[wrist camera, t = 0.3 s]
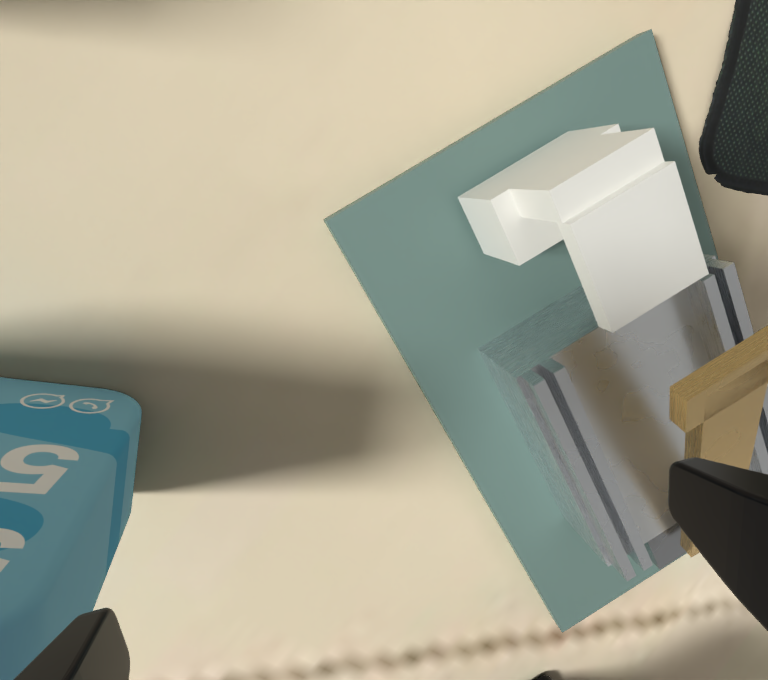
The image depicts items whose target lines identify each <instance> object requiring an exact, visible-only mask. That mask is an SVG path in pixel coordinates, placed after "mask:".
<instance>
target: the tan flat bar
mask: <svg viewBox="0 0 768 680" xmlns="http://www.w3.org/2000/svg"><path fill="white" fill-rule="evenodd" d="M767 385H768V326H766V327H764V328H763V329H761V330H760V331H758V332H756V333H755V334H753V335H752V336H750V337H748V338H747V339H745V340H744V341H742V342H740V343H739V344H737V345H736V346H734V347H732V348H731V349H729V350H728V351H726V352H724V353H723V354H721V355H720V356H718V357H716V358H715V359H713V360H712V361H710V362H708V363H707V364H705V365H704V366H702V367H700V368H699V369H697V370H696V371H694V372H692V373H691V374H689V375H687V376H686V377H684V378H683V379H681V380H679V381H678V382H676V383H675V384H673V385H671V386H670V402H669V419H670V420H671V421H672V422H673V423H674V424H676V425H677V426H678V427H679V428H680V429H681V430H682V431H684V432H685V453H684V459H688V458H692V457H697V458H702V459H706V460H710V461H714V462H718V463H723V464H727V465H731V466H735V467H739V468H743V469H747V470H749V467H750V462H751V458H752V453H753V448H754V444H755V439H756V435H757V430H758V426H759V421H760V417H761V412H762V407H763V403H764V398H765V394H766V389H767ZM680 545H681V547H682V548H683V549H684V550H685V551H686V552H687V553H688V554H689V555H690V556H691V557H693V556H694V555H696V554H698V553H699V550H698V549H697V548H696V547H695V545H694V544H693V543H692V542H691V540H690V539H689V538H688V536H687V535H686V534H685V533H684V531H683V530H682V529H681V537H680Z"/></svg>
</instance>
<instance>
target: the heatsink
mask: <svg viewBox="0 0 768 680" xmlns="http://www.w3.org/2000/svg"><path fill="white" fill-rule="evenodd" d="M703 256H704V259H705V262H706V266H707V269H708V272H709V274H708V275H706V276H704V277H703V278H701V279H699V280H698V281H696V282H695V283H693V284H691V285H690V286H688V287H686V288H685V289H683V290H682V291H680V292H678V293H677V294H675V295H673V296H672V297H670V298H669V299H667V300H665V301H664V302H662V303H660V304H659V305H657V306H656V307H654V308H652V309H651V310H649V311H647V312H646V313H644V314H643V315H641V316H639V317H638V318H636V319H634V320H633V321H631V322H630V323H628V324H626V325H625V326H623V327H621V328H620V329H618V330H617V331H615V332H613V333H612V332H610V331H607V330H605V329H603V328H601V327H599V326H598V324H597V321H596V319H595V316H594V314H593V311H592V309H591V306H590V304H589V301H588V299H587V296H586V294H585V291H584V289H583V286H582V285H581V286H579V287H578V288H576V289H575V290H573V291H571V292H570V293H568V294H566V295H565V296H563V297H561V298H560V299H558V300H557V301H555V302H553V303H552V304H550V305H548V306H547V307H545V308H543V309H542V310H540V311H538V312H537V313H535V314H534V315H532V316H530V317H529V318H527V319H525V320H524V321H522V322H520V323H519V324H517V325H516V326H514V327H512V328H511V329H509V330H507V331H506V332H504V333H502V334H501V335H499V336H497V337H496V338H494V339H493V340H491V341H489V342H488V343H486V344H484V345H483V346H481V347H479V348H478V350H479V352H480V354H481V356H482V358H483V360H484V362H485V364H486V366H487V368H488V370H489V372H490V374H491V376H492V378H493V380H494V382H495V384H496V386H497V388H498V390H499V392H500V393H501V395H502V397H503V399H504V401H505V403H506V405H507V407H508V409H509V411H510V413H511V415H512V417H513V419H514V421H515V423H516V425H517V427H518V429H519V431H520V433H521V435H522V437H523V439H524V441H525V442H526V444H527V446H528V448H529V450H530V452H531V454H532V456H533V458H534V460H535V462H536V464H537V466H538V468H539V470H540V472H541V474H542V476H543V478H544V480H545V482H546V484H547V486H548V488H549V490H550V491H551V493H552V495H553V497H554V499H555V501H556V503H557V505H558V507H559V509H560V511H561V513H562V515H563V517H564V518H565V519H566V520H567V521H568V523H569V524H570V525H571V526H572V527H573V528H574V529H575V530H576V532H577V533H578V534H579V535H580V536H581V537H582V538H583V539H584V540H585V542H586V543H587V544H588V545H589V546H590V547H591V548H592V549H593V551H594V552H595V553H596V554H597V555H598V556H599V557H600V558H601V560H602V561H603V562H604V563H605V564H606V565H607V566H608V567H609V566H610V565H613V567H614V568H615V569H616V570H617V571H618V572H619V573H620V574H621V575H622V576H623V578H624V579H625V580H626V581H629V580H630V579H632V578H634V577H635V576H636V574H635V572H634V569H633V567H632V565H631V563H630V561H629V559H628V557H627V555H629V556H630V557H631V558H632V559H633V560H634V561H635V562H636V563H637V564H638V565H639V566H640V567H641V568H642V569H643V570H644V571H645V570H646V569H648V568H649V567H651V566H652V565H653V563H654V564H655V565H656V566H657V567H658V568H659V569H662V568H663V567H665V566H666V565H668V564H669V563H671V562H673V561H674V560H676V559H677V558H679V557H680V556H682V555H684V554H685V553H687V552H686V551H685V550H684V549H683V548H682V547H681V545H680V537H681V528H680V526H679V525H678V524H677V523H676V521H675V520H674V519H673V517H672V515H671V513H670V511H669V507H668V483H669V468H670V466H671V464H673V463H674V462H676V461H680V460H684V453H685V432H684V431H682V430H681V429H680V428H679V427H678V426H677V425H676V424H674V423H673V422H672V421H671V420H670V419H669V402H670V386H671V385H673V384H675V383H676V382H678V381H679V380H681V379H683V378H684V377H686V376H687V375H689V374H691V373H692V372H694V371H696V370H697V369H699V368H700V367H702V366H704V365H705V364H707V363H708V362H710V361H712V360H713V359H715V358H716V357H718V356H720V355H721V354H723V353H724V352H726V351H728V350H729V349H731V348H732V347H734V346H736V345H737V344H739V343H740V342H742V341H744V340H745V339H747V338H748V337H750V336H752V335H753V334H754V332H753V328H752V325H751V321H750V318H749V314H748V310H747V307H746V303H745V300H744V296H743V293H742V289H741V285H740V282H739V278H738V275H737V271H736V268H735V264H734V262H729V261H723V260H717V259H716V257H715V256H713V255H708V254H703ZM749 470H752V471H756V472H760V473H764V474H768V385H767V389H766V394H765V398H764V403H763V407H762V412H761V417H760V421H759V426H758V430H757V435H756V439H755V444H754V448H753V453H752V458H751V462H750V467H749ZM652 562H653V563H652Z"/></svg>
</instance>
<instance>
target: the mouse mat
mask: <svg viewBox="0 0 768 680" xmlns="http://www.w3.org/2000/svg"><path fill="white" fill-rule="evenodd" d="M728 38H729V40H728V42H727V45H726V50H725V54H724V61H723V63H722V69H721V71H720V74H719V78H718V80H717V82H716V87H715V90H714V93H713V99H712V103H711V106H710V108H709V113H708V115H707V118H706V120H705V126H704V129H703V133H702V136H701V137H700V141H699V154H700V159H701V162H702V165H703V167H704V170H705V172H706V173H707V174H708V175H709V174H717V175H716V176H715V178H714V179H715V180H716V181H717V182H719V183H721V186H723V187H726V188H730V189H733V190H737V191H743V192H746V193H755V194H761V195H768V0H736V2H735V10H734V14H733V19H732V23H731V27H730V31H729V36H728Z"/></svg>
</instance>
